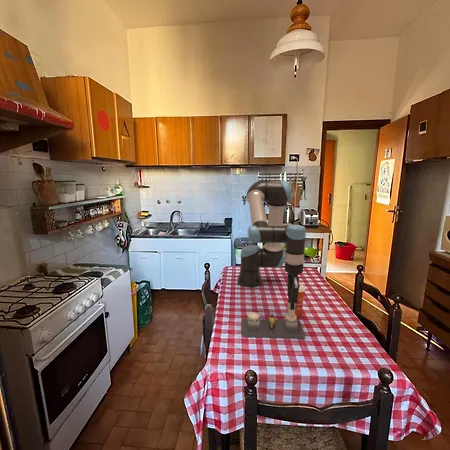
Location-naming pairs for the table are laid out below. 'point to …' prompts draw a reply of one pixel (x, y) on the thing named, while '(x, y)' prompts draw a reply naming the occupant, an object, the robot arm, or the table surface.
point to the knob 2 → (290, 318)
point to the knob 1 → (253, 316)
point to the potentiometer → (272, 321)
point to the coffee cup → (299, 301)
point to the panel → (272, 329)
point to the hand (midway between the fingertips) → (291, 315)
